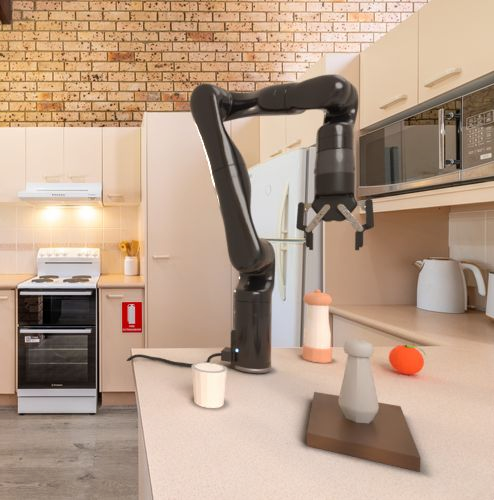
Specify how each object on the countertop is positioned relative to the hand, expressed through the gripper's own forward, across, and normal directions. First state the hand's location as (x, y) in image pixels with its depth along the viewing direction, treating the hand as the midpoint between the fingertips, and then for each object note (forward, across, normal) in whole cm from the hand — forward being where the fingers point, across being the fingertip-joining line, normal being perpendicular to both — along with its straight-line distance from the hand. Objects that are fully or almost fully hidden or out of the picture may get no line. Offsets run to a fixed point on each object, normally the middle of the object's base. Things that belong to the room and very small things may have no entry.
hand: (333, 250), depth 83 cm
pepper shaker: (+30, +4, -26) cm, 40 cm away
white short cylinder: (+30, +21, +19) cm, 41 cm away
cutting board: (+30, -4, +18) cm, 35 cm away
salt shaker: (+28, -4, +18) cm, 34 cm away
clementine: (+30, -16, -23) cm, 41 cm away
